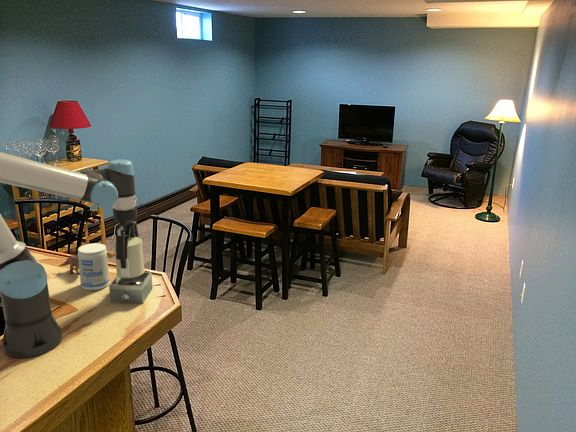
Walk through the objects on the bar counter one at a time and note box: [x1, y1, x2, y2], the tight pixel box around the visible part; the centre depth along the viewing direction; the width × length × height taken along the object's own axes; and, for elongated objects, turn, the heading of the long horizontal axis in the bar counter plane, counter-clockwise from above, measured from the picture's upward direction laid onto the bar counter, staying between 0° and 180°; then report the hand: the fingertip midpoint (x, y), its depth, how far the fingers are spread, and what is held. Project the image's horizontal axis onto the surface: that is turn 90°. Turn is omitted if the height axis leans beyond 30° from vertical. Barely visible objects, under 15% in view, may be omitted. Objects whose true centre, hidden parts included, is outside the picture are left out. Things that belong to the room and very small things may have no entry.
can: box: [113, 236, 146, 278], centre depth 161 cm, size 9×9×12 cm
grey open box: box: [108, 271, 153, 304], centre depth 164 cm, size 12×11×6 cm
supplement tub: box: [77, 242, 110, 291], centre depth 170 cm, size 10×10×15 cm
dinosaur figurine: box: [58, 253, 80, 276], centre depth 181 cm, size 14×6×9 cm, turn 80°
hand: (130, 269), depth 163 cm, fingers closed on can, 9 cm apart
